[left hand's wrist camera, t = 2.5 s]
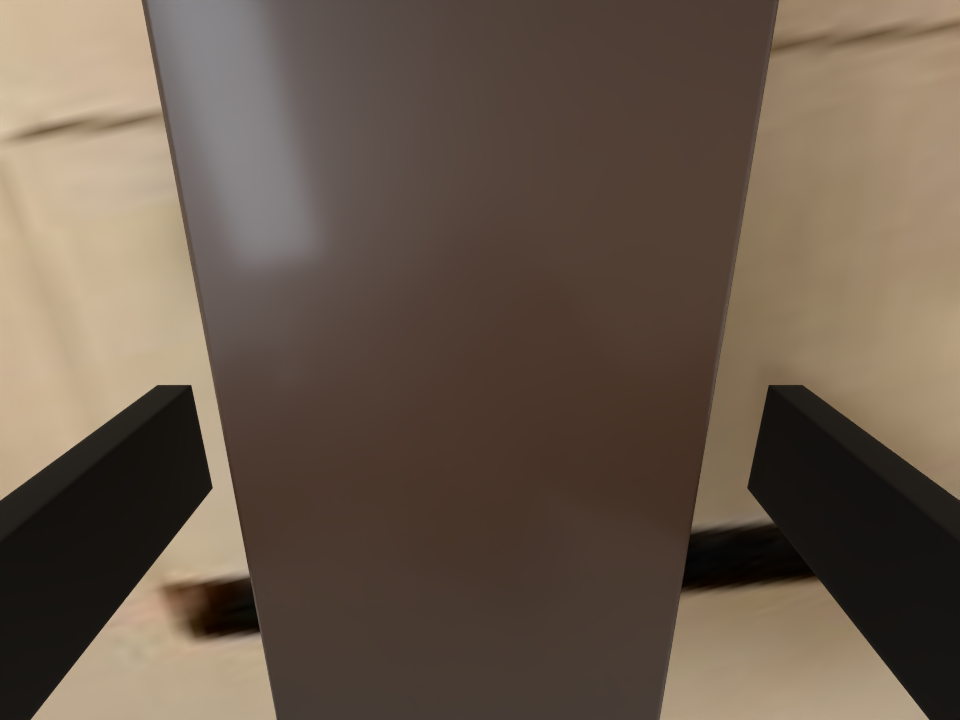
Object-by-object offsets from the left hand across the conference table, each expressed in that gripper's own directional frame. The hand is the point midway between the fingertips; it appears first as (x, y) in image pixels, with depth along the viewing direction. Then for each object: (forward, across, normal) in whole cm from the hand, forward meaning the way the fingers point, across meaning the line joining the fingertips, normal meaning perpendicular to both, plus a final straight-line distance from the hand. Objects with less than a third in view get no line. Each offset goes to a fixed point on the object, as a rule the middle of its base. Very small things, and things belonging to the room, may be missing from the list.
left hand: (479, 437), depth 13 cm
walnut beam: (+3, 0, -9) cm, 10 cm away
